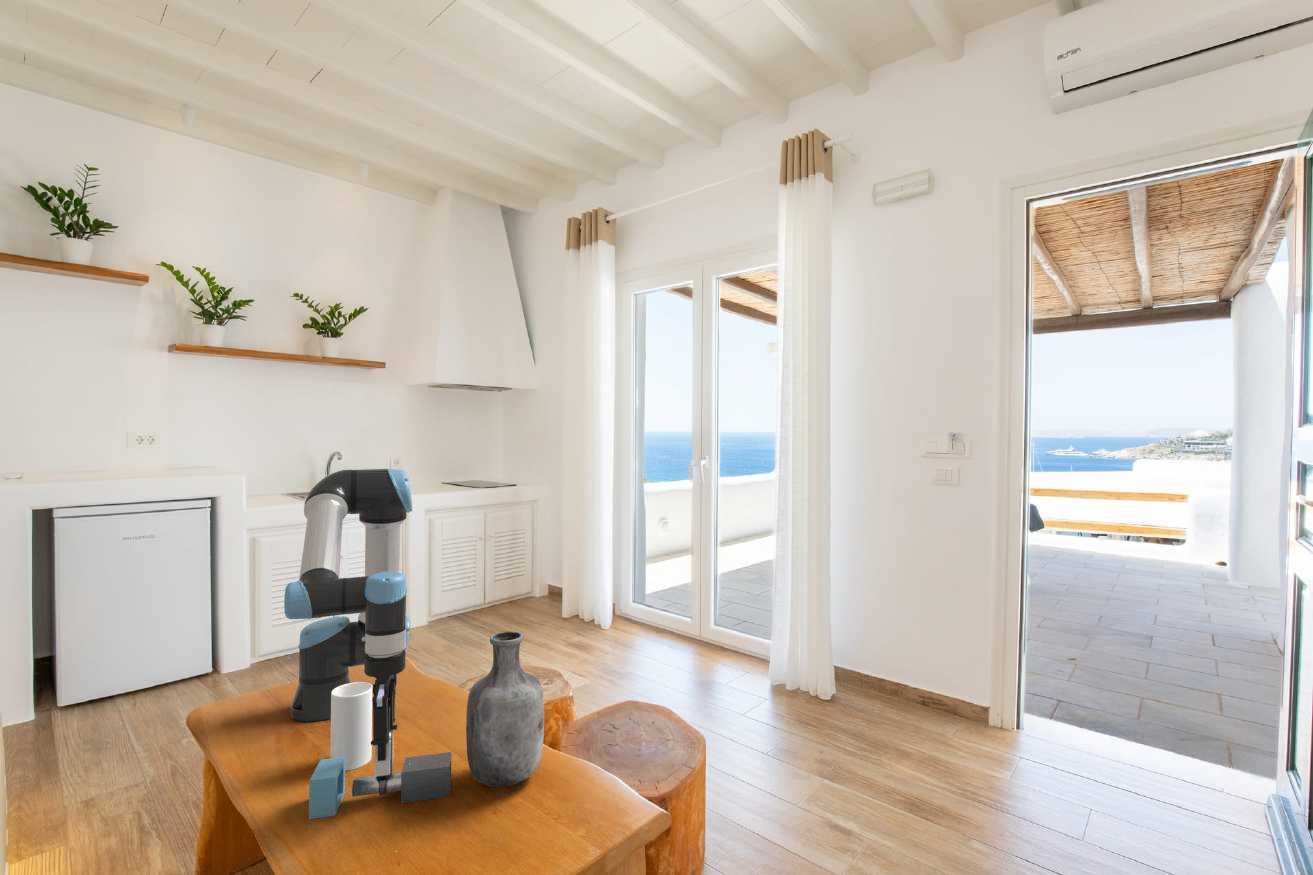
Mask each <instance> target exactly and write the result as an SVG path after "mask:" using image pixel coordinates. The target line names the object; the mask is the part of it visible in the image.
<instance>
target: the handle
mask: <svg viewBox="0 0 1313 875" xmlns="http://www.w3.org/2000/svg"><path fill="white" fill-rule="evenodd" d="M389 738H390V740H391V742H390V775H384V776H376V777H375V775H371V776H364V777H363V776H361V777H355V778H353V781H352V785H351V786H352V787H351V795H352V796H351V797H352V798H354V797H361V796H367V795H369V796H370V795H375V794H378V795H379V796H385V795H388V793H391V792H399V791H401V772H402V771H401V772H394V773H393V765H392V747H393V748H394V730H392V729H389Z"/></svg>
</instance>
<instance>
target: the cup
mask: <svg viewBox="0 0 1313 875" xmlns="http://www.w3.org/2000/svg"><path fill="white" fill-rule="evenodd" d="M372 699H373V684H372V683H369V682H366V681H365V682H364V681H355V682H351V683H348V684H344V685H341V686H339V687H337V688H335V689H333V690H332V692H331V718H330V754H329V756H330V758H329V759H332V758H340V757H345V772H346V771H353V770H356V769H359V768H361V767H364V766H365V765H367V764H368V763H370V761H372V758H373V756H372V754H373V753H372V752H373V749H372V748H373V747H372V746H373V745H371V741H372V739H373V702H372Z"/></svg>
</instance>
